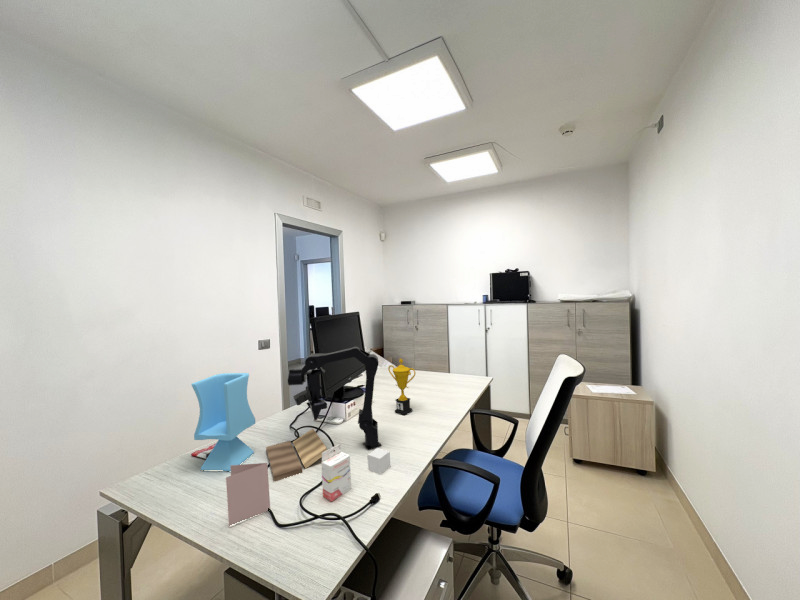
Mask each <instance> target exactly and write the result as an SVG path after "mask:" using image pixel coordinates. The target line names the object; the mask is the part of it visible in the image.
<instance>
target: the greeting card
mask: <svg viewBox="0 0 800 600" xmlns="http://www.w3.org/2000/svg"><path fill="white" fill-rule="evenodd" d="M230 468H231V472H230V475H229V476H226V477H225V482H226V483H225V485H226V497H227V498H226V499H227V513H228V515H227V516H228V527H229V526H230V525H232V524H235V523H237V522H240V521H242V520H245V519H248V518H250V517H253V516H255V515H258V514H260V515H262V514H264V513H263V512H265V513H267V512H268V511H267V510H268V508H270V509H271V501H270V500H271V498H270V484H269V482H270V481H269V467H268V462H261V463H260V462H259V463H247V464H245V463H243V464H241V465H230ZM266 511H267V512H266ZM261 513H262V514H261ZM258 516H259V515H258ZM253 518H254V517H253Z"/></svg>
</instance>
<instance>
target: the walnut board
mask: <svg viewBox="0 0 800 600" xmlns="http://www.w3.org/2000/svg"><path fill="white" fill-rule="evenodd" d="M265 452H266V456H267V459H268V463H270V464H269V467H270V470H271V476H272V478H273V482H274V481H275V482H278V481H282V480H284V478H285V479H288V478H291V477H293V475H294V476H296V474H297V475H299V473H300V474H303V466H302V464H301V462H300V458H299V457H298V456H297V453H296V451H295V448H294V445H293V443H292V442H291V440H288V441H284V442H280V443H275V444H272V445H269V446H266V447H265ZM290 476H291V477H290ZM287 477H288V478H287Z"/></svg>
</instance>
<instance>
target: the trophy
mask: <svg viewBox="0 0 800 600" xmlns="http://www.w3.org/2000/svg"><path fill="white" fill-rule="evenodd" d="M398 362H399V365H398V366H396V367H394V365H392V364H391V365H389V366H388V368H387V369H388V370H387V371H388V372H389V374H390V376H391V377H392V378H393V379H394V380H395V382H396V384H395V386H396V387H398V389H399V390H401V391H400V392H401V394H400V396H399V397H398V398H395V400H394V401H395V402H396V408H395V409H394V413H395V414H398V415H400V416H401V415H402V416H407V415H409V414H410V413H412V412H413V408H411V401H410V400H411V398H409V397H407V395H405V389H409V388H410V387H409V386H408V384H409V383H410V382H411V381H412V380H413V379H414V378H415V376H416V371H415V368H413V367H411V368H410V367H407V366H405V365H404V364H403V363H404V359H403V358H399V359H398ZM391 368H392V371H391ZM411 371H413V373H414V374H413V375H412V376H411V374H412V372H411ZM409 376H411V378H409Z"/></svg>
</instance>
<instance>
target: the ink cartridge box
mask: <svg viewBox="0 0 800 600" xmlns="http://www.w3.org/2000/svg"><path fill="white" fill-rule="evenodd" d="M332 451H333V452H332ZM320 465H321V482H322V483H321V484H322V497H323V498H325V499H327V501H330V502H333V501H335V500H336V499H338V498H340V497H341V496H343V495H344V494H346V493H347V492H348V491H350V490H351V489H352V479H351V478H352V476H351V456H350V454H348V453H345V452H343V451H342V444H341V443H339V444H337V445H335V446H332V447H331V448H327V451H325V452H323V453H322V457H321V464H320Z"/></svg>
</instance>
